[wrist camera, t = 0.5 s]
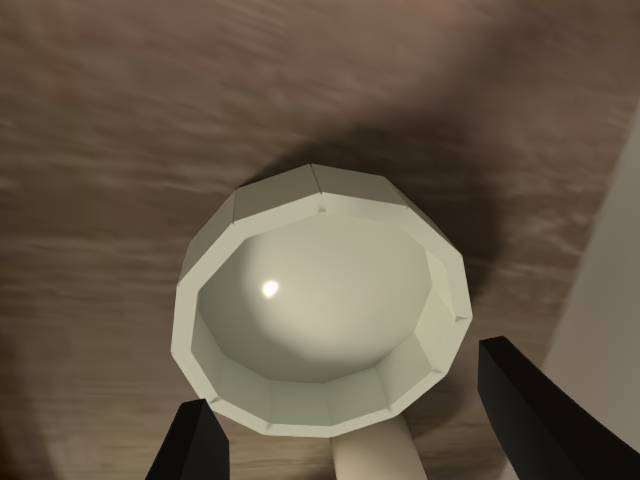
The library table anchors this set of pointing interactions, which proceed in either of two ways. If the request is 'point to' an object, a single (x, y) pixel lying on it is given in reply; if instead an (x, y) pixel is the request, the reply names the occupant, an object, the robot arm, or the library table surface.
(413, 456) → the marshmallow
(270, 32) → the library table surface
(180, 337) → the bowl
